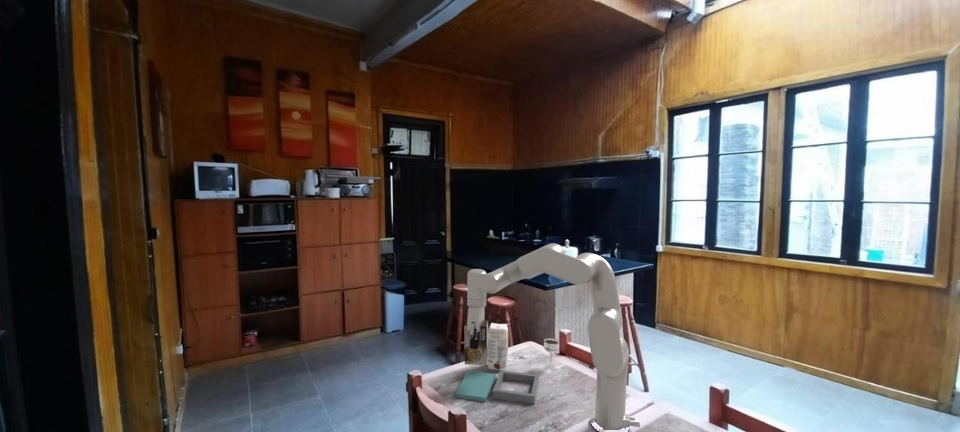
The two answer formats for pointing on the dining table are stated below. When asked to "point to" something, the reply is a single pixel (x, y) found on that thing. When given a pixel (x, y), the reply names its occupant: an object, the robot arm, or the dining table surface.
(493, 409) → the dining table surface
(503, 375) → the holder
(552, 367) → the wineglass
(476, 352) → the cookie box
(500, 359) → the juice carton
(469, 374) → the board
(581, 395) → the dining table surface
